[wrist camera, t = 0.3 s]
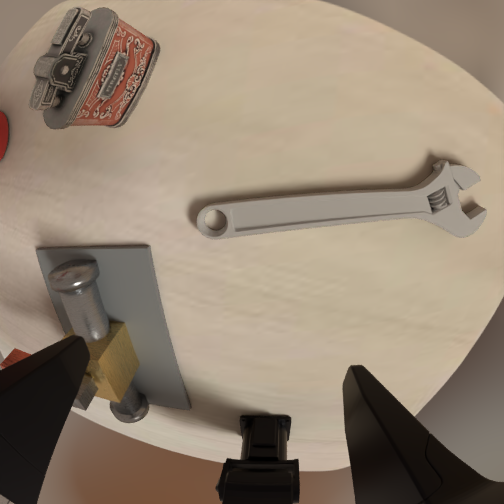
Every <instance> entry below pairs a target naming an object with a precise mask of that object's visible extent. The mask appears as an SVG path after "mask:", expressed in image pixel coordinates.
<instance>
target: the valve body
mask: <svg viewBox="0 0 504 504" xmlns="http://www.w3.org/2000/svg"><path fill="white" fill-rule="evenodd" d="M99 274H100V271H99V267H98V263H97V260H87V259H78V260H70V261H67V262H65V263H62V264H60V265H59V266H57V267H55V268H54V269H53V270H52V271H51V272H50V273H49V274H48V280H49V283H50V286H51V289H52V290H53V291H55V292H59V294H60V297H61V300H62V302H63V305H64V308H65V310H66V313H67V315H68V318H69V320H70V323H71V325H72V328H71V330H70V331H69V332H68V333H67V334H66V335H65V336H64V338H63V339H65V338H67V337H69V336H71V335H79V336H82V337H83V338H84V339H85V342H86V344H87V347H88V349H89V352H90V361H89V363H88V366H87V369H86V372H85V374H84V375H85V376H88V377H91V378H93V380H94V382H95V384H96V385H97V387H98V391H97V392H96V394H95V396H97V397H100V398H104V399H107V400H110V409H111V411H112V413H113V414H114V416H115V417H116V418H117V419H118V420H119V421H121V422H125V423H134V422H137V421H139V420H141V419H143V418H144V417H145V416H146V414H147V413H148V410H149V403H148V400H147V398H146V396H145V395H144V394H140V393H139V392H138V390H137V388H136V386H135V383H134V381H133V377H134V375H135V373H136V371H137V369H138V367H139V365H140V363H139V360H138V358H137V355H136V353H135V350H134V347H133V344H132V342H131V339H130V336H129V333H128V330H127V327H126V324H125V322H116V321H109V320H108V317H107V314H106V311H105V308H104V305H103V302H102V299H101V296H100V293H99V289H98V286H97V282H96V279H97V278H98V276H99ZM63 339H62V340H63Z"/></svg>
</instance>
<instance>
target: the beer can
mask: <svg viewBox="0 0 504 504" xmlns="http://www.w3.org/2000/svg"><path fill="white" fill-rule="evenodd" d="M8 138H9V125H8V121H7V118H6V116H5V115H4V113H3V112H1V111H0V160H1V159H2V158H3V156H4V154H5V151H6V148H7V144H8Z"/></svg>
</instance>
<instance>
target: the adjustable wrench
mask: <svg viewBox="0 0 504 504" xmlns="http://www.w3.org/2000/svg"><path fill="white" fill-rule="evenodd" d="M433 168H434V171H433V172H432V174H431V175H429V176H428V177H427V178H426V179H425V180H424V181H423V182H421V183H420V184H418V185H416V186H413V187H410V188H403V189H373V190H352V191H335V192H319V193H306V194H294V195H282V196H271V197H261V198H251V199H242V200H233V201H225V202H217V203H211V204H208V205H207V206H206V207H204V208H203V209H202V210H201V211H200V213H199V214H198V217H197V227H198V229H199V231H200V232H201V234H202V235H204V236H205V237H206V238H209V239H224V238H232V237H240V236H248V235H257V234H265V233H273V232H282V231H291V230H299V229H308V228H317V227H327V226H336V225H345V224H355V223H365V222H375V221H385V220H395V219H406V218H417V219H421V220H425V221H428V222H430V223H432V224H435V225H437V226H439V227H441V228H443V229H444V230H446V231H447V232H449V233H450V234H452V235H454V236H456V237H460V238H464V237H468V236H470V235H472V234H473V233H475V232H476V231H477V230H478V229H479V227H480V226H481V225H482V223H483V221H484V219H485V217H486V213H487V210H486V209H485V208H483V207H481V206H478V207H476V208H475V209H473V210H472V211H470V212H469V213H467V214H465V213H464V212H463V211H462V209H461V205H460V200H459V196H458V193H459V189H461V190H466V189H468V188H469V187H471V186H473V185H474V184H476V183H478V182H479V181H481V180H480V176H479V175H478V174H477V173H476V172H475V171H474V170H472V169H470V168H469V167H466V166H462V165H458V164H449V163H448V161H446V160H441V159H440V160H439V161H438V163H436V164H434V165H433ZM428 198H429V199H428ZM430 207H431V208H430ZM211 210H219V211H221V212H222V213H223V214H224V215H225V217H226V224H225V226H224V227H223V228H222V229H221V230H218V231H214V230H211V229H210V228H208V226H207V225H206V223H205V216H206V214H207V213H208V212H209V211H211Z"/></svg>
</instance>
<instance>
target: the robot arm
mask: <svg viewBox="0 0 504 504" xmlns="http://www.w3.org/2000/svg"><path fill="white" fill-rule="evenodd" d="M89 361H90V352H89V349H88V347H87V344H86V342H85V339H84V338H83V337H82V336H79V335H71V336H69V337H67V338H65V339H63V340H61V341H59V342H57V343H55V344H53V345H51V346H49V347H46V348H44V349H42V350H40V351H38V352H36V353H34V354H32V355H30V356H28V357H26V358H24V359H22V360H20V361H18V362H16V363H14V364H12V365H10V366H8V367H6V368H4V369H2V370H0V504H9V501H11V502H13V503H14V504H37V501H38V498H39V494H40V491H41V487H42V484H43V481H44V478H45V474H46V471H47V469H48V466H49V463H50V460H51V457H52V454H53V452H54V449H55V446H56V443H57V441H58V438H59V436H60V433H61V431H62V429H63V426H64V424H65V421H66V419H67V417H68V414H69V412H70V410H71V407H72V405H73V403H74V401H75V398H76V396H77V394H78V391H79V389H80V386H81V383H82V380H83V377H84V374H85V372H86V369H87V366H88V363H89ZM343 404H344V423H345V433H346V440H347V446H348V452H349V458H350V465H351V472H352V479H353V486H354V494H355V503H356V504H504V482H496V481H492V480H489V479H487V478H485V477H483V476H482V475H480V474H479V473H477V472H476V471H475V470H474V469H472V468H471V467H470V466H468V465H467V464H466V463H464V462H463V461H462V460H460V459H459V458H458V457H457V456H455V455H454V454H453V453H452V452H451V451H449V450H448V449H447V448H446V447H445V446H444V445H443V444H442V443H441V442H440V441H438V440H437V439H436V438H435V437H434V436H433V435H432V434H431V433H430V434H429V431H428V430H427V429H426V428H425V427H424V426H423V425H422V424H421V423H420V422H419V421H418V420H417V419H416V418H415V417H414V416H413V415H412V414H411V413H410V412H409V411H408V410H407V409H406V408H405V407H404V406H403V405H402V404H401V403H400V402H399V401H398V400H397V399H396V398H395V397H394V396H393V395H392V394H391V393H390V392H389V391H388V390H387V389H386V388H385V387H384V386H383V385H382V384H381V383H380V382H379V381H378V380H377V379H376V378H375V377H374V376H373V375H372V374H371V373H370V372H369V371H368V370H367V369H366V368H365V367H364V366H362V365H351V366H350V367H349V368H348V371H347V373H346V376H345V379H344V382H343ZM240 426H241V433H242V439H243V442H242V451H241V459H240V460H236V459H231V458H227V459H226V463H224V464H223V470H222V473H221V477H220V479H219V481H218V483H217V485H216V491H217V492H218V493H219V498H220V501H222V504H293V503H294V504H296V503H299V494H300V482H299V460H298V459H294V460H287V441H288V440H289V434H290V427H291V417H263V416H241V417H240Z"/></svg>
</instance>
